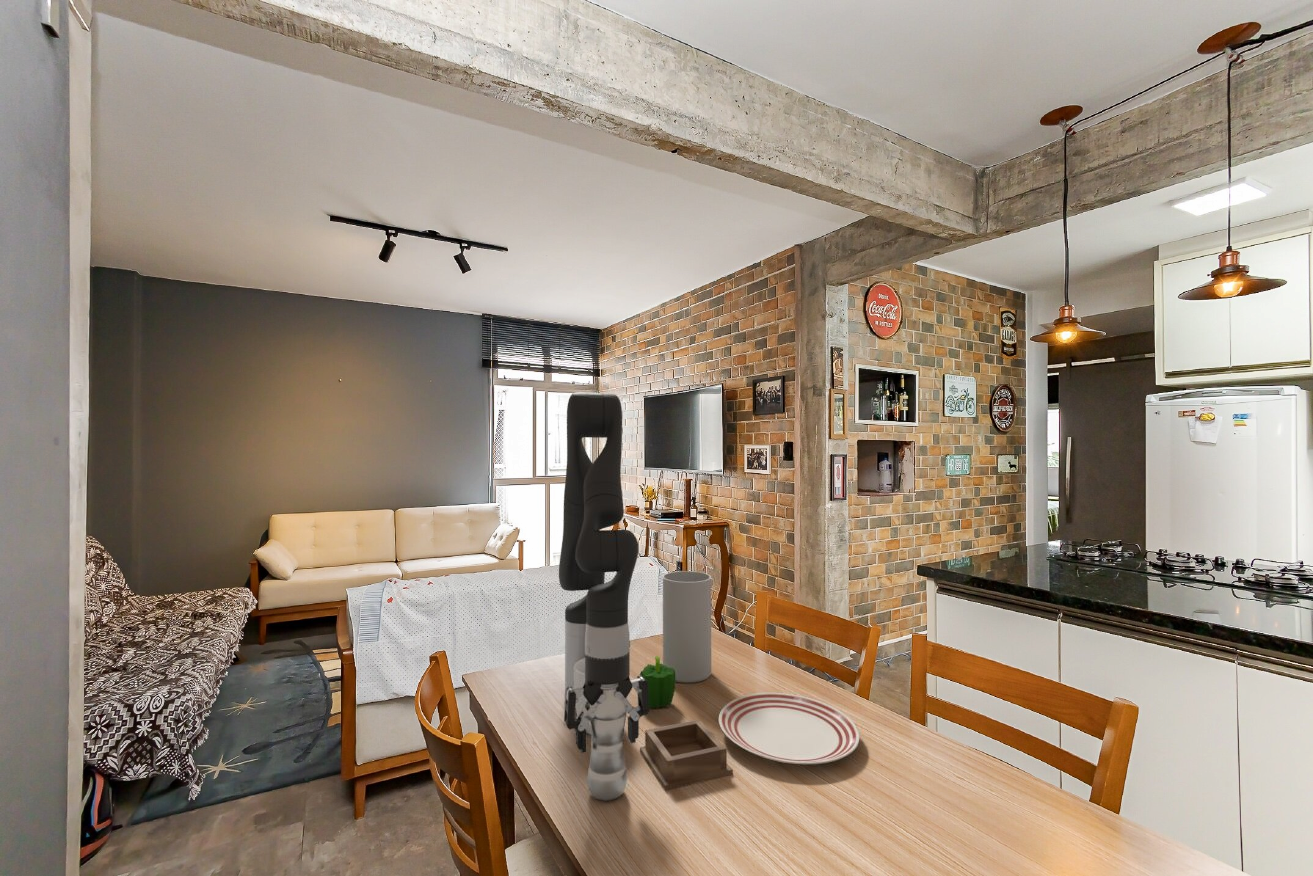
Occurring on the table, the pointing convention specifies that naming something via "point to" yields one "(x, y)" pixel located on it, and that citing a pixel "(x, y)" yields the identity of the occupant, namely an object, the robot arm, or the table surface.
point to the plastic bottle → (607, 747)
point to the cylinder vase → (687, 625)
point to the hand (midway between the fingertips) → (607, 745)
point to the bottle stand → (684, 754)
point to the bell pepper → (659, 684)
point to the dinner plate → (789, 728)
